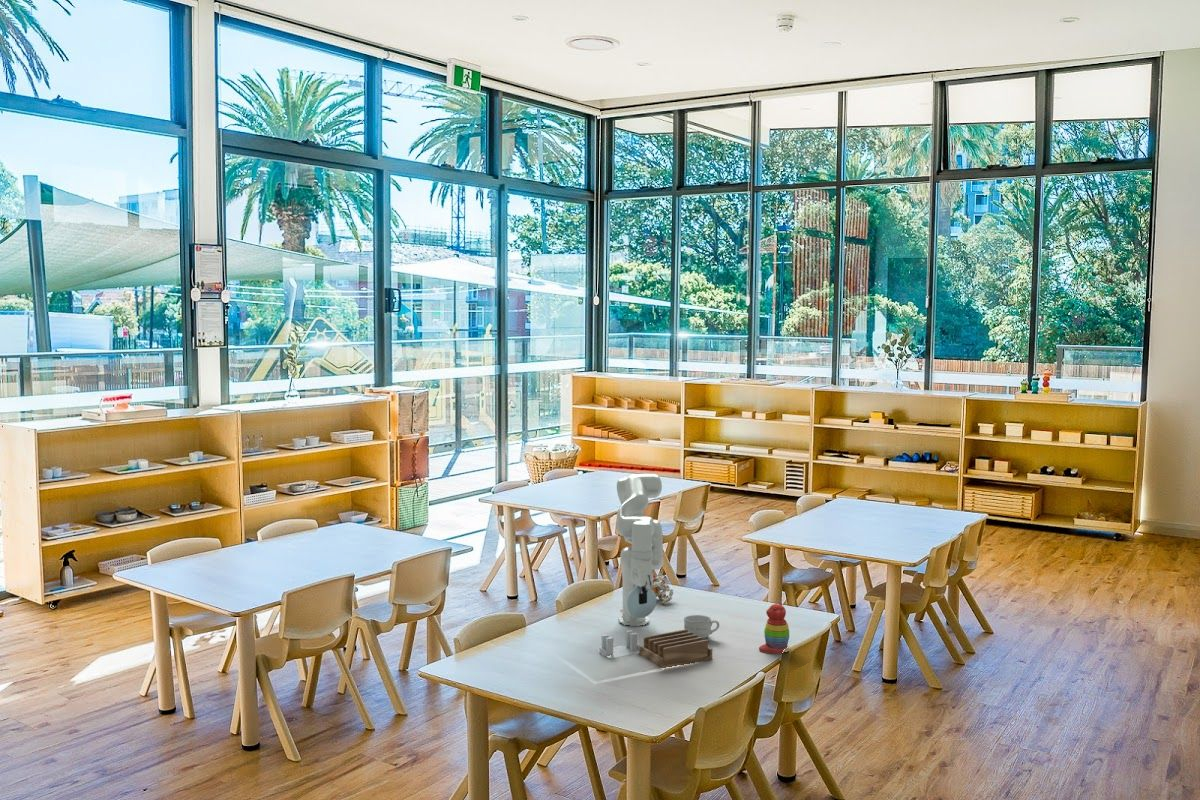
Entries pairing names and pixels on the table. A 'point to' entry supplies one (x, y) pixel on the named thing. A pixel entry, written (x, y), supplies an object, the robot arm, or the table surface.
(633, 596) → the plate
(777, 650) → the stacking bear
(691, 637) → the rack
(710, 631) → the teacup
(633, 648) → the holder
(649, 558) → the robot arm
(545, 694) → the table surface
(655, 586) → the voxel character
